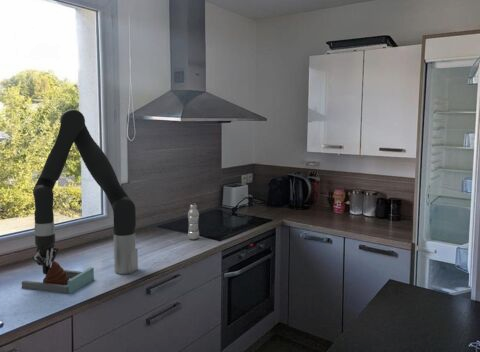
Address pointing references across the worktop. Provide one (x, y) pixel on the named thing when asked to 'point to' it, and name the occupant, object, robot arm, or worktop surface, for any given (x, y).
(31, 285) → the channel
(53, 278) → the poop emoji
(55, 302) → the worktop surface
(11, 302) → the worktop surface
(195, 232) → the plastic bottle
